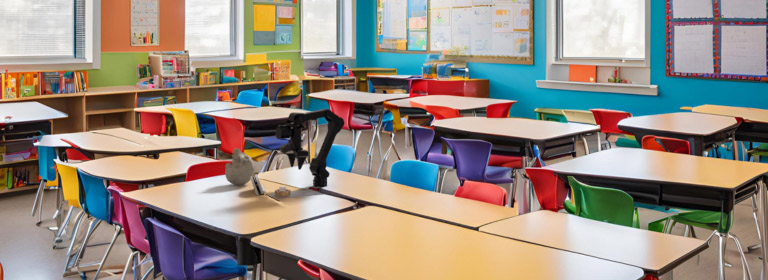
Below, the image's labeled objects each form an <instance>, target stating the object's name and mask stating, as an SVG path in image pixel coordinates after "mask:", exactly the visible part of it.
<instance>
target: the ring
mask: <svg viewBox="0 0 768 280" xmlns="http://www.w3.org/2000/svg"><path fill="white" fill-rule="evenodd" d="M291 191H292V190H291V189H287V188H286V191H284V192H282V191H279V188H277V189H275V190H274V193H275V196H277V197H287V196H290V195H291Z"/></svg>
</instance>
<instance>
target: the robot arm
mask: <svg viewBox="0 0 768 280" xmlns="http://www.w3.org/2000/svg"><path fill="white" fill-rule="evenodd" d="M322 118H324V119H325V121H326V122H327V131H326V135H325V137H324V139H323V142H322V145H321V147H320V149H319V150H318V151H319V152H318V154H317V156H316V157H315V158H314V157H312V158H311V161H310V163H309V164H308V165H309V171H310V172H311V175H312V176H313V179H312V187H314V188H325V187H328V178H330V175H331V174H330V171H328V170H327V160H328V159H327V158H328V156H329V153H330V151H331V149H332V147H333V145H334V141H335V139H336V137H337V135H338V134H339V133H340V132H341V131H342V130H343V128H344V126H345V119H344V118H343V117H341V116H339V115H337V114H336V113H335V112H333V111H332V110H331V109H330V108H322V109H318V110H312V111H307V112H297V111H296V112H290V113H289V114H288V118H287V119H286V121H285V123H284V124H278V125H277V128H276V130H275V132H274V133H275V138H276V139H277V140H283V139H288V141H287V142H286V143H284V144H281V145H279V146H278V148H279V152H280V153H281V154H284V155H286V156H287V158H288V161H289V165H290V167H291V168H293V167H294V165H295V161H297V169H298V170H302V168H303V165H304V164H305V161H306V159H308V157H309V156H310V151H308V150H306V149H304V147H302V143H303V142H304V140H303V138H302V132H303V131H302V130H303V129H306V126H305V125H304V123H307V122H308V121H312V120H317V119H322Z"/></svg>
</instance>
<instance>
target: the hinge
mask: <svg viewBox="0 0 768 280" xmlns="http://www.w3.org/2000/svg"><path fill="white" fill-rule="evenodd" d="M250 178H251V180H250V181H251V184H252V187H253V190H254V193H255V195H256V196H259V195H260V194H261V195H262V194H265V196H267V195H268V193H267V192H266V188H265V186H264V185H263V184H262V183H261V180H260V177H259V175H258V174H257V173H256V174H255V173H254V174H253V176H251V177H250ZM266 193H267V194H266Z"/></svg>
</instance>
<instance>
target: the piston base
mask: <svg viewBox="0 0 768 280" xmlns="http://www.w3.org/2000/svg"><path fill="white" fill-rule="evenodd" d="M278 189H279V191H282V192H284V191H286V189H287V187H286V186H279V188H278ZM321 195H322V196H323V195H325V194H324V193H321V192H320V191H317V190H314V189H312V188H311V189H302V190H299V189H298V190H291V195H290V196H287V197H277V196H275V192H272V193H271V192H270V193H268V194H267V195H266V196H267V197H268V196H269V197H268V198H271V199H272V200H275V201H277V202H280V200H283V199H285V200H286V199H293V198H301V197H303V198H304V197H313V196H321Z"/></svg>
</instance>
